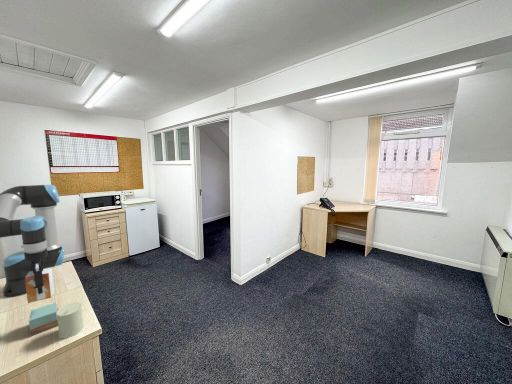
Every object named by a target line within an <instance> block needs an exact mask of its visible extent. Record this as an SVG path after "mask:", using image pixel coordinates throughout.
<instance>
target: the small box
mask: <svg viewBox="0 0 512 384" xmlns="http://www.w3.org/2000/svg"><path fill="white" fill-rule="evenodd" d="M42 277H43V284H44V289H45V298H44V299H41V300H38V301H37V294H36V288H35V289H34V287H35V279H34V273H33V271H30V272H29V273H28V274H27V275H26V277H25V283H26V291H27V293H26V296H27V297H26V299H27V304H30V303H34V302H39V301H42V300H47V299H51V298H52V297H53V295H54V292H55V287H54V286H55V285H54V276H53V267H51V268H46V269H43V271H42Z"/></svg>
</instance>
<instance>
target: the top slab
mask: <svg viewBox="0 0 512 384" xmlns="http://www.w3.org/2000/svg"><path fill="white" fill-rule="evenodd" d="M57 304H58V303H57V302H54V303H50V304H47V305H44V306H40V307H38V308H35V309H31V311H30V314H29V320H28V324H29V329H30V328H33V327H36V326H39V325H42V324H45V323H48V322H51V321H53V320H56V319H57V315H56V313H57V309H58V305H57Z"/></svg>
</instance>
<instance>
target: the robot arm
mask: <svg viewBox="0 0 512 384" xmlns="http://www.w3.org/2000/svg"><path fill="white" fill-rule="evenodd" d="M57 203H60V197H59V192H58V189H57V187H56V186H55V185H54V184H37V185H36V184H35V185H34V184H33V185H31V184H30V185H19V186H13V187H10V188H8V189H6V190H4V191H2V192H0V238H1V239H2V238H7V237H15V236H21V239H22V245H21V246H20V247H21V249H23V250H22V251H19V252H15V253H12V254H9V255H8V256H6V257H5V258H4V259H3V271H4V274H5V275H4V276H5V277H4V278H5V284H4V286H3V291H2V292H3V296H4V297H7V298H10V297H11V298H13V297H19V296H22V295H26V294H27V291H26V283H25V277H26V275H27V274H28V273H29V272H30V271H33V273H34V279H35V287H34V289H35V288H36V294H37V301H36V302H39V301H42V300H41V299H43V300H45V299H44V298H45V289H44V284H43V277H42V271H43V269H47V268H56V267H59V266H62V265H63V264H64V259H65V247H64V246H62V244H60V243H59V241H58V231H57V224H56V223H57V222H56V216H55V207H57V205H58V204H57ZM29 205H30V208H31V209H33V210H34V213H35V214H34V215H35V216H34V215H33V216H31V217H26V218H25V217H24V218H20V219H14V216H15V214H16V211H17V208H19V207H20V206H29ZM38 300H39V301H38Z"/></svg>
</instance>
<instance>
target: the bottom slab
mask: <svg viewBox="0 0 512 384" xmlns="http://www.w3.org/2000/svg"><path fill="white" fill-rule="evenodd" d="M59 309H60V308H57V311H58V310H59ZM54 328H58V321H57V319H56V320H53V321H51V322H48V323H45V324H42V325H39V326H36V327H33V328H30V327H29V333H30V334H29V335H30V338H31V337H34V336H37V335H39V334H41V333H42V334H43V333H44V332H47V331H50V330H51V329H54Z"/></svg>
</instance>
